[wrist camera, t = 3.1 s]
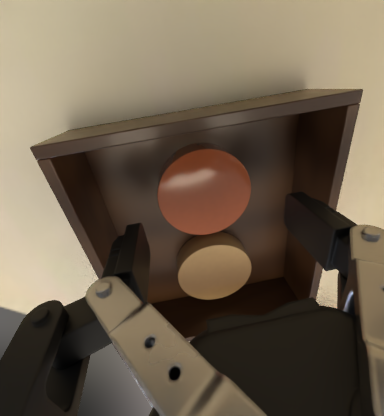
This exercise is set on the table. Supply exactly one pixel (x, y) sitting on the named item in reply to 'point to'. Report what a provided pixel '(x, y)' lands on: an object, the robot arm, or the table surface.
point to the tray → (244, 226)
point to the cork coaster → (212, 266)
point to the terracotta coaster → (203, 189)
